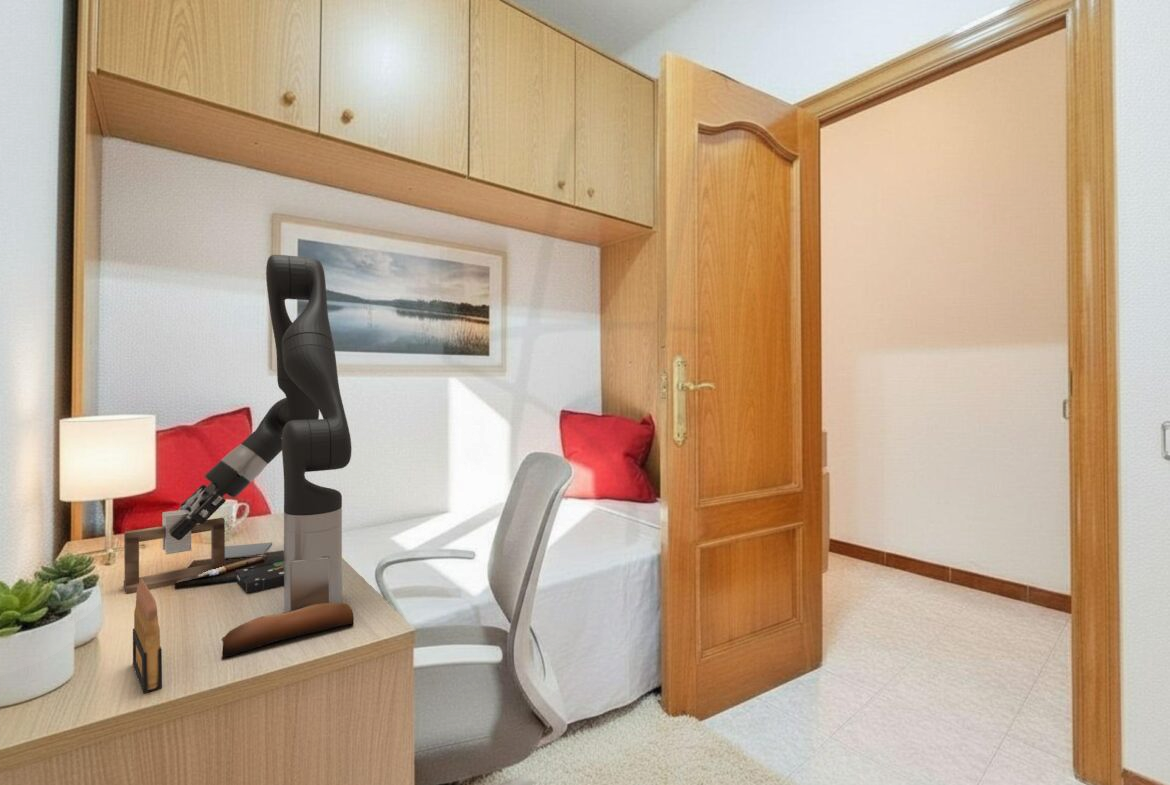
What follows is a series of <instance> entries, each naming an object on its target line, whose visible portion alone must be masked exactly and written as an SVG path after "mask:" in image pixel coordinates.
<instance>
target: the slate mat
mask: <svg viewBox="0 0 1170 785" xmlns="http://www.w3.org/2000/svg"><path fill="white" fill-rule="evenodd" d="M272 545H273V542H262V543H259V542H258V543H249V544H248V543H247V544H238V545H235V544H234V545H227V546H226V545H225V559H226V558H234V557H243V556H251V555H256V554H264V553H265V552H266V551H267V552H268V550H269V549H270V548H271V547H272ZM267 552H266V553H267ZM266 553H265V554H266ZM265 554H264V555H265Z"/></svg>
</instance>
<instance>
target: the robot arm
mask: <svg viewBox="0 0 1170 785" xmlns="http://www.w3.org/2000/svg"><path fill="white" fill-rule="evenodd" d="M265 275H266V276H265V277H266V289H267V298H268V306H269V313H270V318H271V319H270V320H271V326H272V332H273V337H274V343H275V351H276V379H277V385H278V388H279V390H281V392H283V393H284V395H285V397H284V398H282V399H280V400H278V401H277V402H275V403H274V404H273V405H272V406H271V407H270V408H269V409H268V411H267V413H266V414H265V416H264V417H263V418H262V420H261V421H260V422H259V425H258V426H257V427H256V429H255V430H254V431H253V432H252V433H251V434H249V436H247V438H245V439H244V440H243V441H242V442H241V443H240V444H239V445H237V446H236V447H235V448H233V449H232V450H231V451H229V452H228V453H227V454H226V455H225V456H224V457H223V458H222V459H221V460H220V461H218V463H216V464H215V465H214V466H213V467H212V468H211V469H210V470H208V472H206V473H205V474H204V479H205V480H207V481H209V483H210V484H208V485H206V484H202V485H200V487H199V488H197V489H196V490H195V491H194V492H193V493H192V494H191V495H190V496H188V497H187V498H186V500H184V501H183V502H181V503H180V505H179V509H178V510H184V509H187V510H188V511H189V512H190V514H189V515H188V516H187V517H186V518H187V519H188V520H187V519H184V520H183V521H182V522H181V523H180V524H179V525H178V526H177V527H176V528H175V529H174V530H173V531H172V532H171V533H170V535H171V536H172V537H174V538H175V539H177V540H181V539H182V538H183V537H184V536H185V535H186V534H187V533H188V532H189V531H190V530H191V529H192V528H194V527H195V526H196V525H199V524H203V523H205V521H206V520H209V518H211V516H212V515H214V513H216V512H217V511H218V510H219V508H221V506H222V505H224V504H225V503H226V501H227V499H225V497H224V496H225V495H228V496H229V497H231V498H233V499H234V498H236V497H238V496H239V495H240V494H241V493H242V492H243V491H244V490H245V489H246V488H247V487H248V486H249V485H250V484H251V483H252V482H253V481H254V480H255V479H256V478H257V477H258V476H259V475H260V474H261V473H262V472H263V470H264V469H265V468H266V467H267V466H268V465H269V464H270V463H271V462H272V461H273V460H274V459H275V458H276V457H277V456H278V455H279V454H280V453H282V454H281V455H282V466H283V467H282V468H283V561H284V586H283V600H284V601H283V602H284V603H283V609H284V611H283V612H285V611H294V610H297V609H301V608H304V607H307V606H311V605H316V604H322V603H343V544H342V543H343V534H342V533H343V526H342V525H343V508H342V507H343V502H342V501H343V496H342V494H341V491H339V490H337V489H334V488H330V487H325V486H321V485H318V484H315V483H313V482H311V481H310V480H308V479H307V478H306V476H305V473H308V472H320V471H321V472H323V471H324V472H325V471H332V470H333V471H335V470H340V469H344V468H346V467H347V466H348V465H349V463H350V462H351V458H352V438H351V433H350V429H349V424H348V420H347V415H346V413H345V408H344V404H343V400H342V396H341V391H340V383H339V376H338V368H337V367H338V366H337V358H336V351H335V346H334V345H335V344H334V339H333V335H332V334H333V333H332V331H331V326H330V325H331V324H330V319H329V311H328V303H327V302H328V299H327V288H326V274H325V270H324V266H323V264H322V262H321V261H320V260H318V259H317V258H314V257H308V256H298V255H285V254H272V255H270V256H269V257H268V259H267V262H266V267H265ZM286 300H296V301H297V300H300V301H302V300H303V301H308V302H307V304H306V306H305V308H304V309H303V311H302V312H301V313H300V314H299V315H298V316H297V317H296V318H295V319H294V320H293V321H292V320H291V318H290V316H289V314H288V313H289V312H288V310H287V307H286ZM320 414H321V416H322V418H320ZM195 524H196V525H195Z"/></svg>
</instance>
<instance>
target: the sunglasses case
mask: <svg viewBox="0 0 1170 785" xmlns="http://www.w3.org/2000/svg"><path fill="white" fill-rule="evenodd" d="M354 619H355V617H354V612H353V609H352V607H351V606H350V605H348V604H347V603H343V602H342V603H322V604H316V605H311V606H307V607H304V608H301V609H297V610H294V611H283V612H282V613H275V614H271V615H270V614H269V615H264V616H260V617H256V618H254V619H251V620H249V621H246V622H244V623H242V624H240V625H238V626H236V627H234V628H233V629H230V630H229V631H228V632H227V633H226V635H224V636H223V637H222V638H221V641H222V651H221V654H222V655H221V659H224V658H225V657H230V656H234V655H237V654H240V653H243V652H246V651H249V650H252V649H253V650H254V649H256V648H259V647H260V646H265V645H268V644H271V643H274V642H276V641H282V640H287V639H292V638H296V637H300V636H303V635H306V634H312V633H317V632H320V631H325V630H329V629H332V628H337V627H341V626H346V625H347V626H348V625H350V624H351V626H354V623H355V622H354Z"/></svg>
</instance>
